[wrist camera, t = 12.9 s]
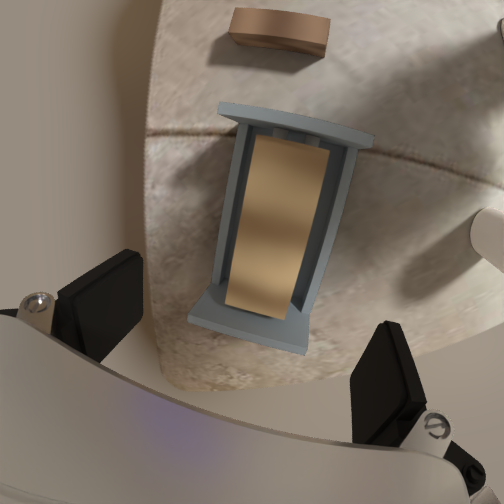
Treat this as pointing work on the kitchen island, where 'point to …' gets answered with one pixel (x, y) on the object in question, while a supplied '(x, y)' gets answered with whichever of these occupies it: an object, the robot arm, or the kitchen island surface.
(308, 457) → the robot arm
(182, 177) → the kitchen island surface
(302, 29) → the block
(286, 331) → the bed
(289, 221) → the board
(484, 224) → the can
